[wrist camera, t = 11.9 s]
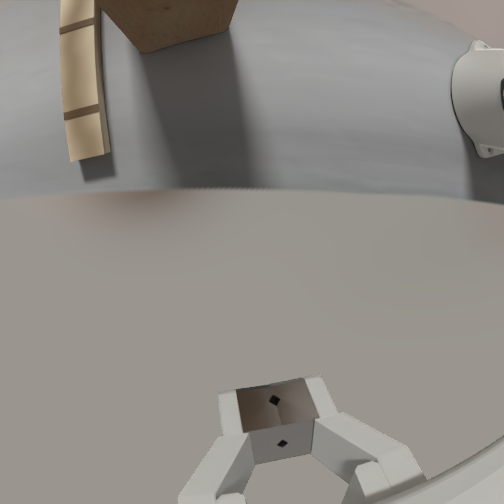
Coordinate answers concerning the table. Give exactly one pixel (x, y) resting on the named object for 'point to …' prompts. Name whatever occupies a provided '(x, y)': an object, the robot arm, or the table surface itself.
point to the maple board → (82, 79)
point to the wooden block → (168, 20)
